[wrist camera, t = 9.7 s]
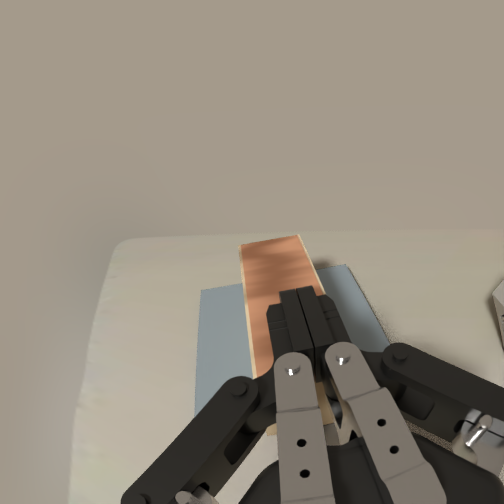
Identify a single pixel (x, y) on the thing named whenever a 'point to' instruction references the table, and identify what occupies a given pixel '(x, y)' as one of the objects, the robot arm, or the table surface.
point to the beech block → (274, 297)
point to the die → (500, 306)
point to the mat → (236, 334)
